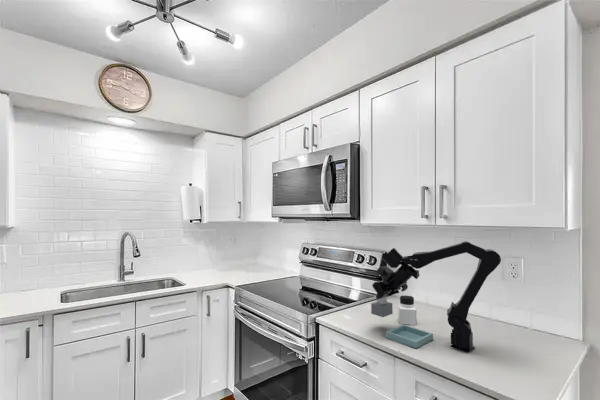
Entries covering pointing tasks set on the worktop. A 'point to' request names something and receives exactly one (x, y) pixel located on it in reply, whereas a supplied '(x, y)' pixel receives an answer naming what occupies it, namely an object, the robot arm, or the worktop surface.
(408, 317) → the medicine bottle
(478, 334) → the worktop surface
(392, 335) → the tray
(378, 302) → the grey tabbed block
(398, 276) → the robot arm
